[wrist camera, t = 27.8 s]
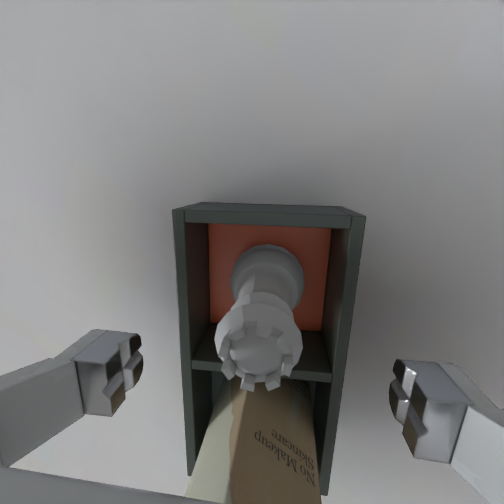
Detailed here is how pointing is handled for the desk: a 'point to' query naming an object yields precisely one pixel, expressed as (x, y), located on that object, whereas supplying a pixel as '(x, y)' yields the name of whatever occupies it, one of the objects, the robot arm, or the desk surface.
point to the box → (258, 447)
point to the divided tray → (305, 313)
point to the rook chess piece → (262, 318)
